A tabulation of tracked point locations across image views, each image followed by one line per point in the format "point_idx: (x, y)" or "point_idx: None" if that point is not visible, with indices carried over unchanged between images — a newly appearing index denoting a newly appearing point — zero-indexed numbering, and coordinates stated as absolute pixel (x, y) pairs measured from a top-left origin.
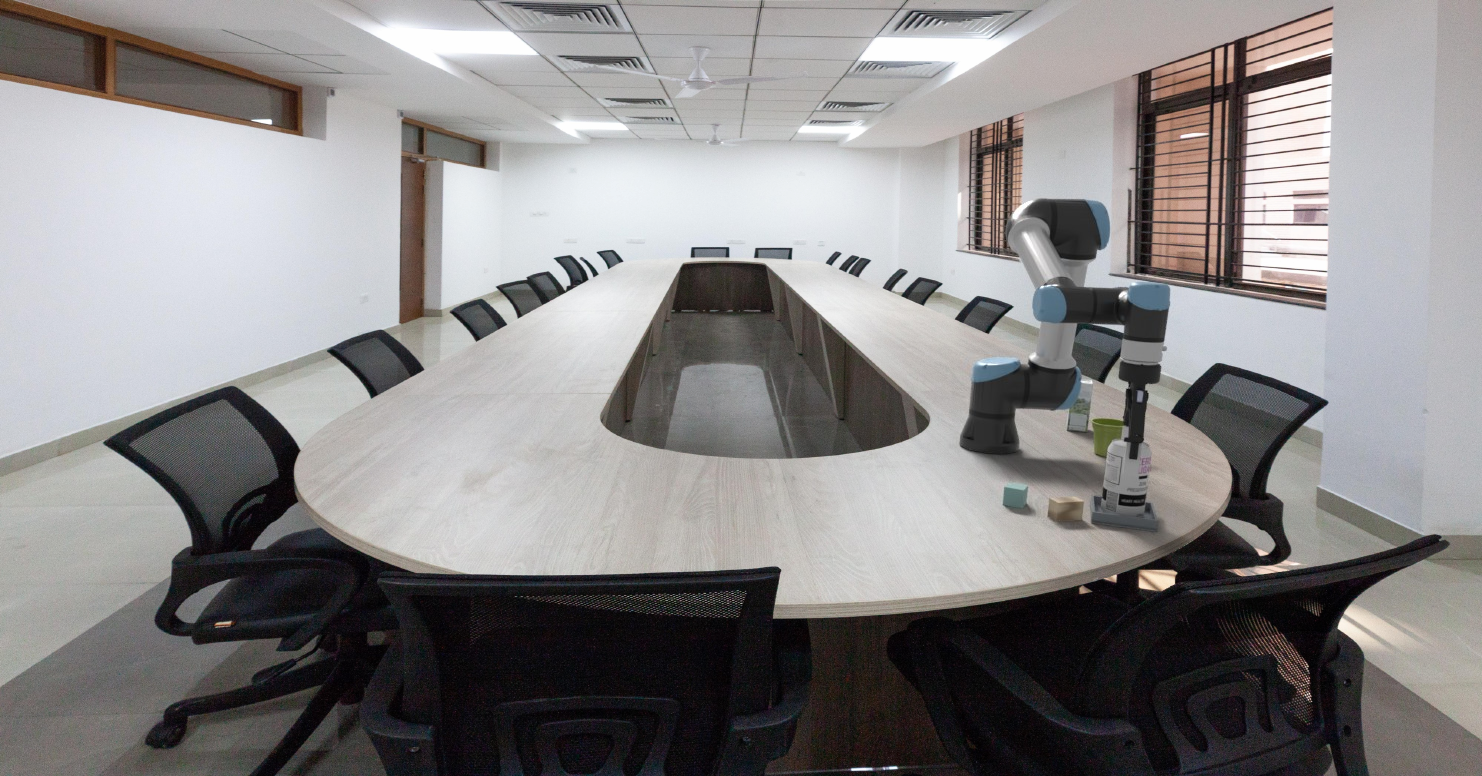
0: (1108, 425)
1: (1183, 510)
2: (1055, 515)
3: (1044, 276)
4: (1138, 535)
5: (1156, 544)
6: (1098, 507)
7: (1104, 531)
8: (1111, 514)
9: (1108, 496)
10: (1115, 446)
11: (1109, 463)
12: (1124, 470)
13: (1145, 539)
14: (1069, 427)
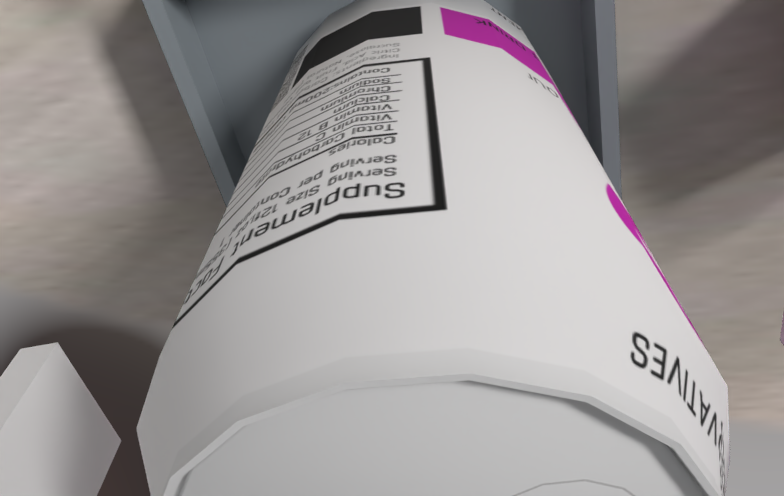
0: None
1: (743, 347)
2: None
3: None
4: (159, 231)
5: (96, 310)
6: None
7: (68, 70)
8: (185, 106)
9: (284, 88)
10: (202, 418)
11: (248, 201)
12: (3, 385)
13: (125, 265)
14: None
